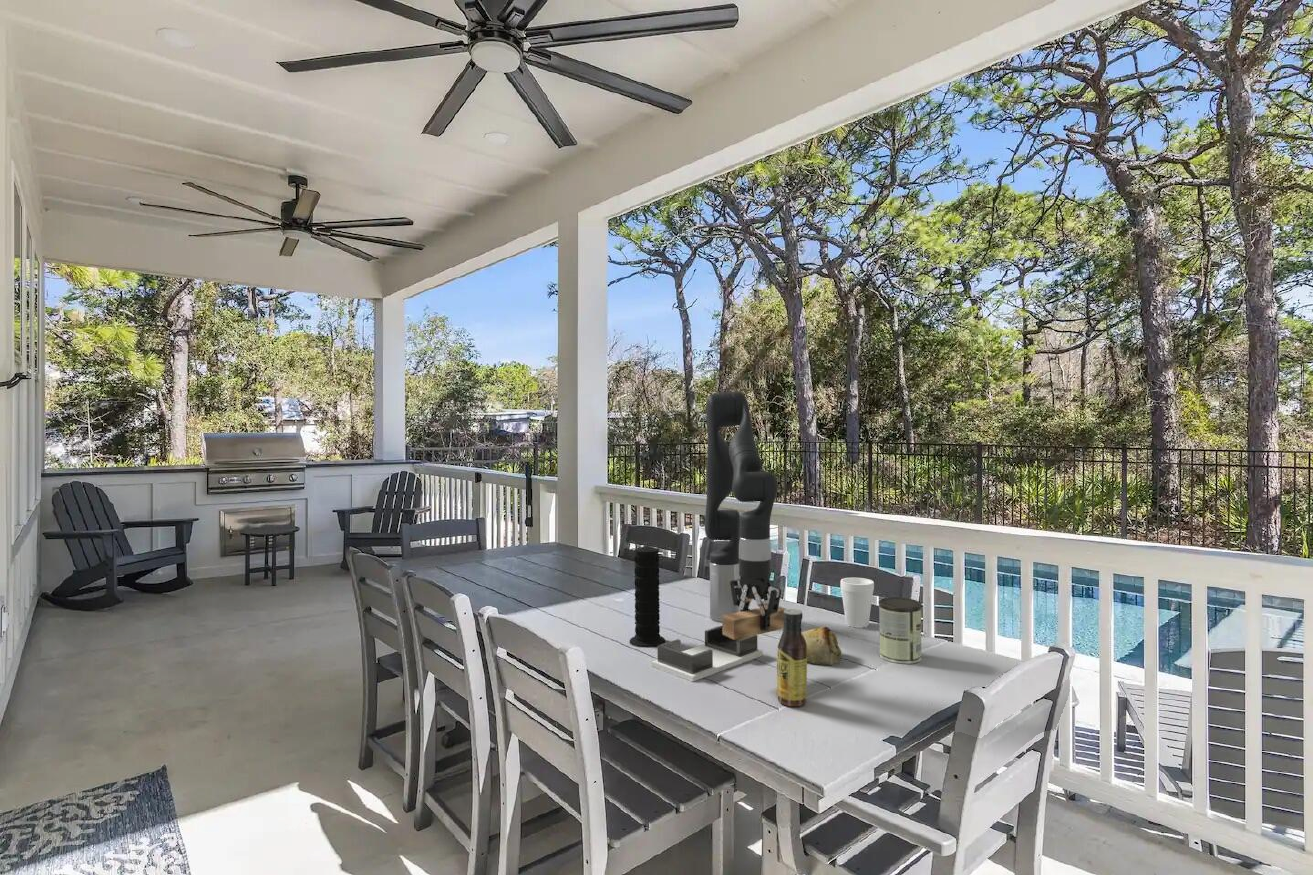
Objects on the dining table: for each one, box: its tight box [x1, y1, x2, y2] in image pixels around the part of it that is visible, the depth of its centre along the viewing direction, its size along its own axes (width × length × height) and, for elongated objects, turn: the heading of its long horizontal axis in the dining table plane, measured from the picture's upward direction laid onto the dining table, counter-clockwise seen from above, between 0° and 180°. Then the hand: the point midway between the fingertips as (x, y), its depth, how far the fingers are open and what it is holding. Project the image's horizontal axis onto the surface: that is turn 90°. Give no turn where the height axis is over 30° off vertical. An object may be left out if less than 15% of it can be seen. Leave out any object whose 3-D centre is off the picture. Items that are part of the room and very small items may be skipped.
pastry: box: [801, 626, 842, 666], centre depth 176 cm, size 14×12×8 cm
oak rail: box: [721, 605, 787, 640], centre depth 162 cm, size 16×4×4 cm, turn 121°
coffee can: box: [878, 596, 923, 665], centre depth 175 cm, size 10×10×14 cm
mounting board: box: [651, 643, 764, 682], centre depth 173 cm, size 26×14×1 cm, turn 133°
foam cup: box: [840, 577, 875, 629], centre depth 202 cm, size 10×9×13 cm
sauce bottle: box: [776, 608, 808, 708], centre depth 147 cm, size 7×6×20 cm
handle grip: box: [629, 545, 667, 648], centre depth 188 cm, size 10×26×10 cm
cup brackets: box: [657, 625, 758, 674], centre depth 173 cm, size 24×12×4 cm, turn 133°
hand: (755, 627), depth 162 cm, fingers closed on oak rail, 5 cm apart
